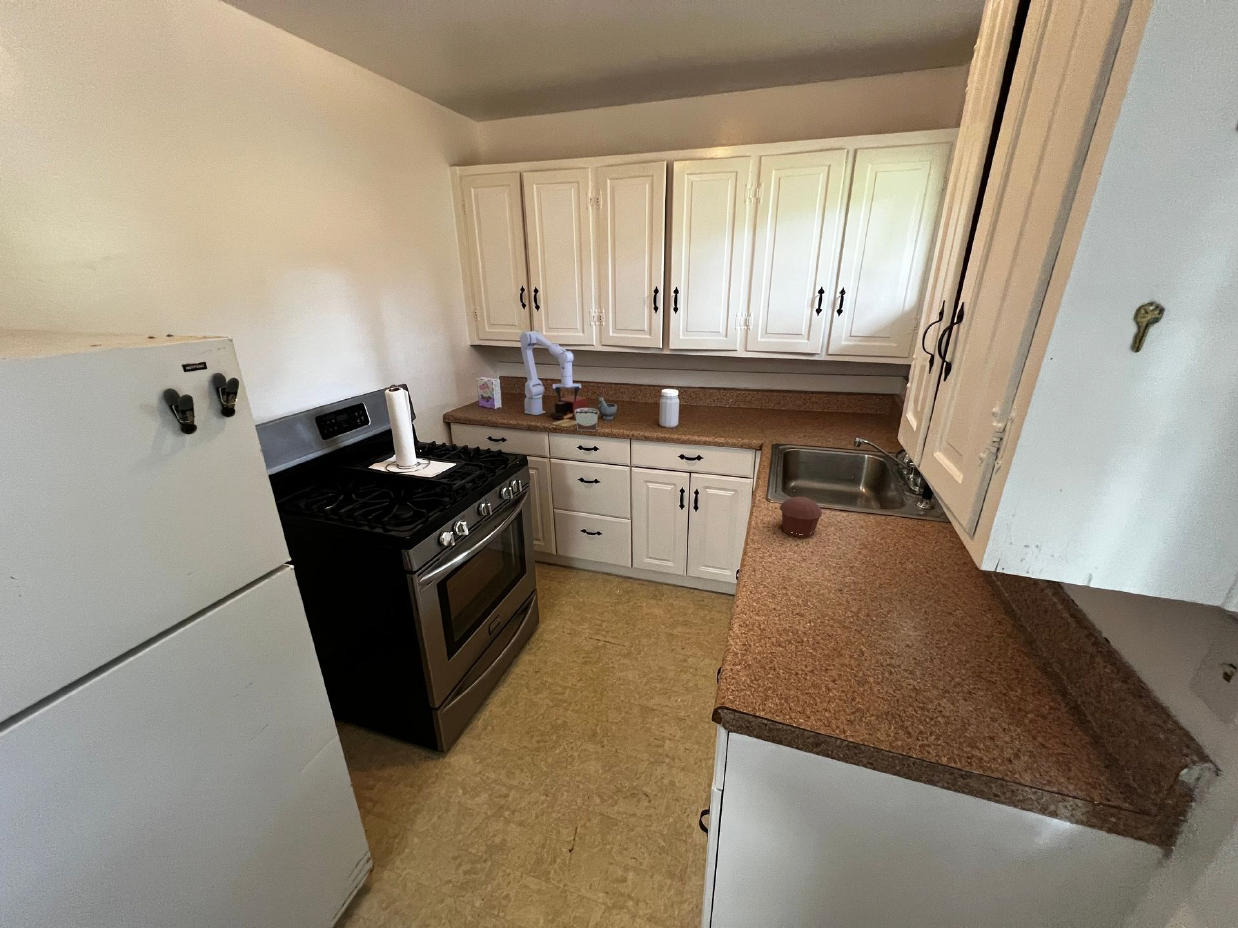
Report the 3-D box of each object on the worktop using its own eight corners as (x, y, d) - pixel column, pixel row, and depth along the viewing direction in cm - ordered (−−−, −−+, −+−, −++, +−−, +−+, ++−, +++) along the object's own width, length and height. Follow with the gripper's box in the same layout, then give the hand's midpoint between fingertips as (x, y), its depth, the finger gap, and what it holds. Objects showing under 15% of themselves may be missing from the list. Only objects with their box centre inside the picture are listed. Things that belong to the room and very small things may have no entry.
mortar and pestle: (607, 414, 263) (607, 393, 259) (620, 417, 257) (620, 395, 253) (593, 418, 255) (592, 396, 251) (606, 422, 249) (605, 399, 245)
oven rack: (548, 417, 253) (548, 412, 252) (564, 412, 263) (563, 407, 262) (561, 420, 249) (561, 415, 248) (576, 414, 259) (576, 409, 258)
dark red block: (558, 415, 261) (557, 399, 258) (571, 410, 271) (571, 395, 268) (574, 418, 256) (573, 401, 253) (587, 413, 265) (587, 397, 262)
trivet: (552, 424, 245) (552, 423, 245) (564, 419, 253) (564, 418, 253) (567, 427, 240) (567, 426, 240) (579, 422, 248) (579, 421, 248)
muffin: (815, 523, 146) (820, 493, 142) (821, 541, 135) (827, 510, 132) (775, 519, 148) (779, 490, 144) (778, 537, 138) (782, 505, 134)
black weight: (555, 416, 254) (554, 403, 252) (560, 414, 258) (560, 401, 255) (561, 417, 252) (561, 404, 250) (567, 415, 255) (566, 402, 253)
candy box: (478, 406, 281) (475, 378, 275) (486, 404, 285) (483, 376, 279) (494, 409, 273) (491, 380, 267) (502, 407, 278) (499, 379, 272)
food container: (601, 427, 241) (600, 407, 237) (599, 430, 235) (599, 411, 231) (576, 426, 242) (576, 407, 238) (574, 430, 236) (574, 410, 232)
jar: (675, 422, 249) (676, 388, 242) (680, 427, 240) (682, 392, 233) (656, 423, 247) (657, 388, 241) (661, 428, 238) (662, 393, 232)
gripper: (552, 377, 241) (553, 403, 246) (580, 377, 242) (581, 403, 247) (552, 374, 248) (554, 400, 252) (580, 374, 248) (581, 400, 253)
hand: (567, 401), depth 250 cm, fingers open, 7 cm apart
